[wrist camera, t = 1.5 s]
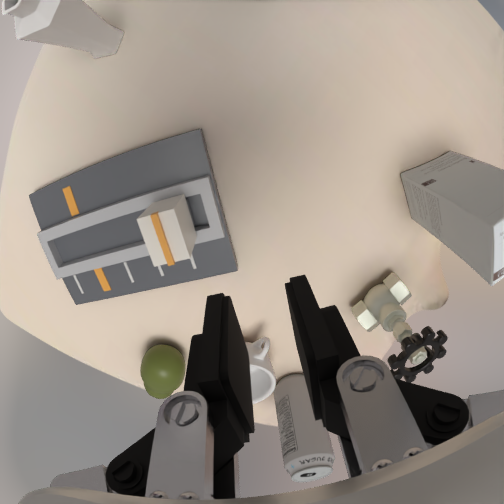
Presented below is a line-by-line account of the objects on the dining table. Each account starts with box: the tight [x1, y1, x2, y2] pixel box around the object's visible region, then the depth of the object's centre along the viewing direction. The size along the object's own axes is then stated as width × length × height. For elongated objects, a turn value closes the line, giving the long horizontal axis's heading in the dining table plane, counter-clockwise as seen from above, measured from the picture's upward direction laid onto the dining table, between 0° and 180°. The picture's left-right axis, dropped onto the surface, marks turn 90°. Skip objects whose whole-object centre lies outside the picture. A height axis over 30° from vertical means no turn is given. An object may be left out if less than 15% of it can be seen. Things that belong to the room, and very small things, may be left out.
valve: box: [352, 272, 447, 383], centre depth 28 cm, size 7×7×12 cm
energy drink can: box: [274, 374, 335, 482], centre depth 33 cm, size 6×6×15 cm
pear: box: [141, 345, 185, 399], centre depth 34 cm, size 6×5×10 cm
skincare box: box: [401, 151, 504, 286], centre depth 21 cm, size 8×6×15 cm
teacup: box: [245, 337, 276, 404], centre depth 33 cm, size 10×8×5 cm
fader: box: [137, 194, 197, 267], centre depth 24 cm, size 4×3×6 cm
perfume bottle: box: [2, 0, 124, 58], centre depth 13 cm, size 5×4×15 cm
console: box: [29, 129, 238, 305], centre depth 27 cm, size 14×20×3 cm
